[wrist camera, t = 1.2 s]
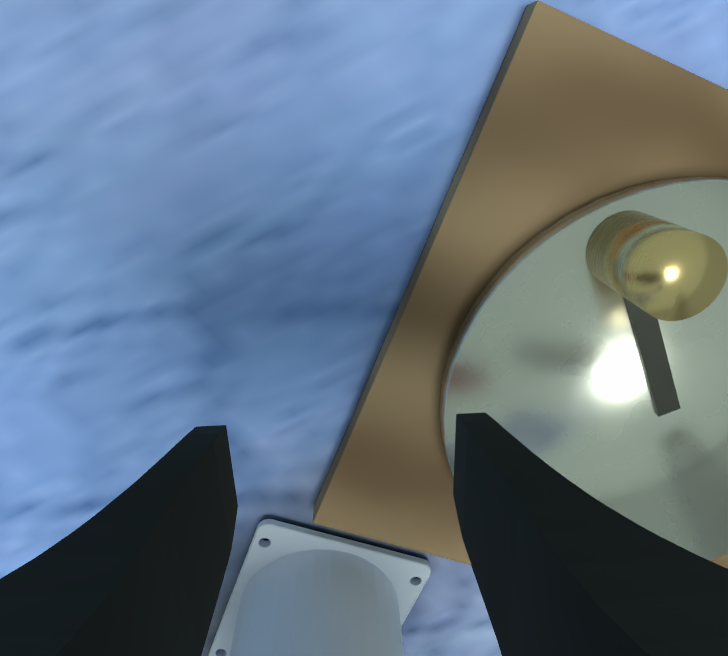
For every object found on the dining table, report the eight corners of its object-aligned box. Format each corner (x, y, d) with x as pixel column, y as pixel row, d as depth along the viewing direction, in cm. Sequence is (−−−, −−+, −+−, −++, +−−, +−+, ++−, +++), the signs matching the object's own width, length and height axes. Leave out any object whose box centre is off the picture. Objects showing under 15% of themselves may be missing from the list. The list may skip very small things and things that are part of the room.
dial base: (701, 610, 27) (733, 656, 25) (313, 506, 23) (311, 548, 21) (1009, 231, 20) (1091, 247, 18) (526, 5, 17) (555, -9, 14)
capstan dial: (884, 476, 23) (997, 553, 19) (516, 606, 24) (550, 701, 21) (849, 88, 17) (1004, 84, 13) (370, 299, 19) (379, 350, 15)
